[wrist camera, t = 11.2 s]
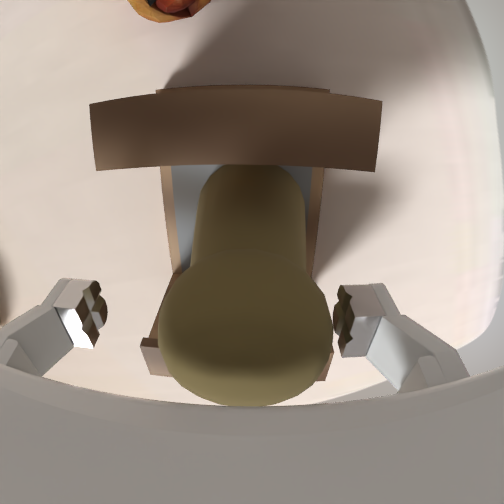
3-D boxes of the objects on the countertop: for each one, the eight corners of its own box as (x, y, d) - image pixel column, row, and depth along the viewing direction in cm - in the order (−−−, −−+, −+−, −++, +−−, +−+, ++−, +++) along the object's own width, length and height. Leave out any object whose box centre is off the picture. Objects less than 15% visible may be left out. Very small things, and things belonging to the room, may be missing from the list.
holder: (159, 90, 14) (88, 95, 8) (328, 90, 14) (382, 92, 8) (178, 292, 22) (151, 377, 15) (307, 295, 21) (323, 383, 15)
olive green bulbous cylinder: (326, 209, 16) (398, 369, 7) (254, 274, 19) (251, 442, 9) (246, 135, 14) (225, 234, 5) (176, 214, 17) (98, 371, 7)
